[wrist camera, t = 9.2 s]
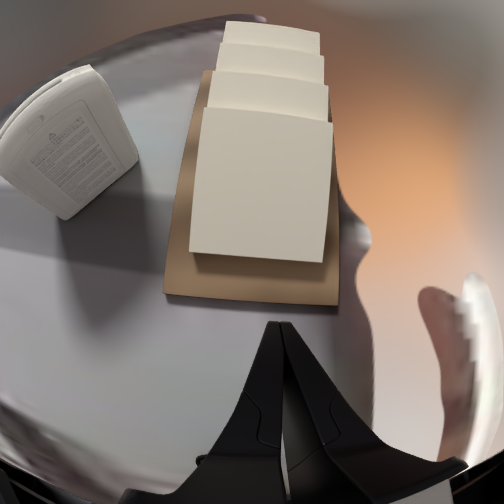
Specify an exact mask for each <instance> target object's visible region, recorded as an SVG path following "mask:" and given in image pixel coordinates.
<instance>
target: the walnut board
mask: <svg viewBox="0 0 504 504" xmlns="http://www.w3.org/2000/svg"><path fill="white" fill-rule="evenodd" d="M213 71H216V70H204V72H203V76H202V79H201V83H200V87H199V90H198V94H197V98H196V102H195V106H194V110H193V114H192V118H191V122H190V126H189V130H188V135H187V139H186V144H185V148H184V153H183V158H182V163H181V168H180V173H179V179H178V184H177V190H176V195H175V201H174V207H173V214H172V220H171V227H170V234H169V241H168V249H167V257H166V265H165V274H164V284H163V293H164V294H173V295H183V296H193V297H203V298H214V299H226V300H239V301H253V302H268V303H286V304H307V305H338V292H339V211H338V188H337V172H336V158H335V146H334V135H333V143H332V163H331V178H330V192H329V204H328V215H327V225H326V234H325V243H324V252H323V260H322V263H321V262H308V261H296V260H283V259H271V258H258V257H246V256H234V255H222V254H210V253H198V252H189V243H190V228H191V216H192V204H193V193H194V183H195V173H196V164H197V156H198V147H199V139H200V132H201V125H202V118H203V111H204V107H207V104H208V98H209V91H210V85H211V79H212V73H213ZM324 85H325V84H324ZM328 122H330V123H332V117H331V109H330V101H329V94H328Z"/></svg>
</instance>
